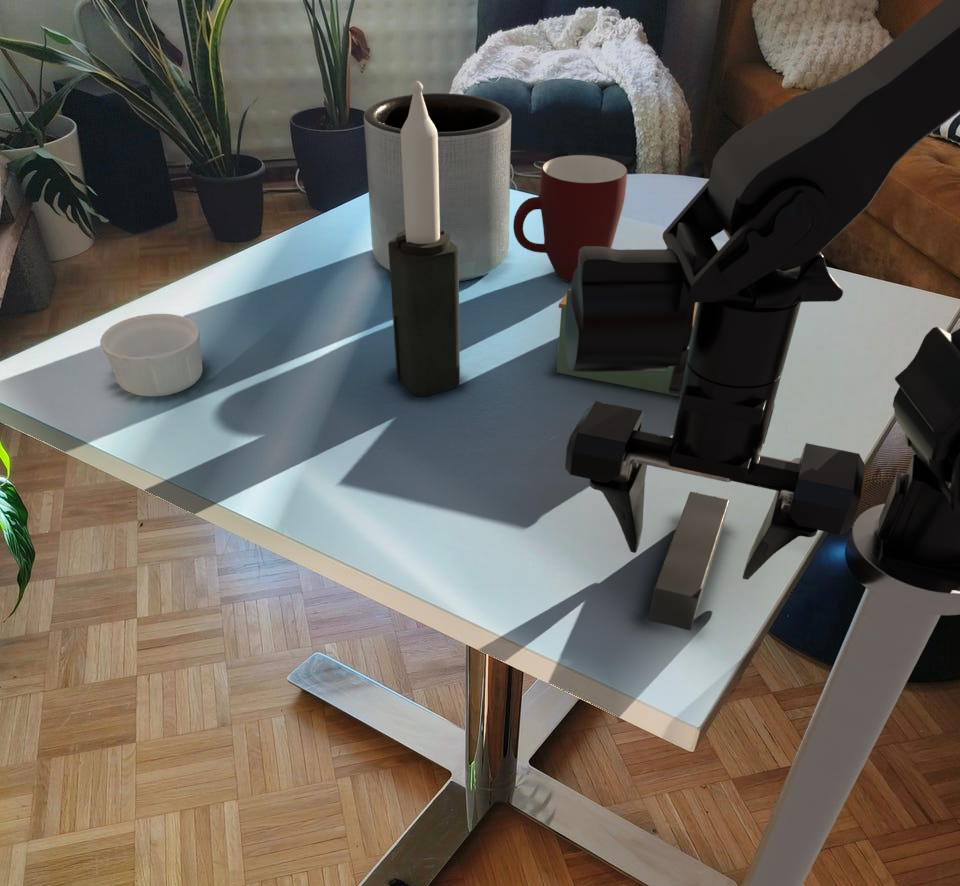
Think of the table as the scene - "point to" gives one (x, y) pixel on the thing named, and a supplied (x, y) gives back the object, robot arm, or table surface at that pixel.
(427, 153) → the candle
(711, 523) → the stick
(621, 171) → the mug
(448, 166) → the planter
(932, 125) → the robot arm
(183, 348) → the ramekin
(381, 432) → the table surface
